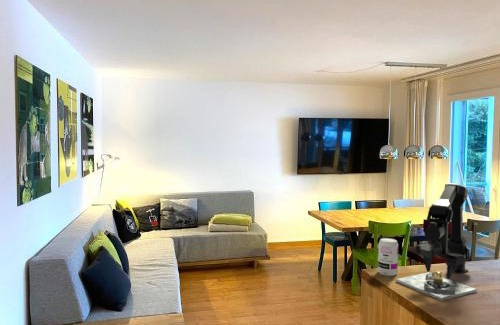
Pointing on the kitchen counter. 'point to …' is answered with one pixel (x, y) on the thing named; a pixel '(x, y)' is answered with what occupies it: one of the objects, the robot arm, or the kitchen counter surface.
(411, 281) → the carrier
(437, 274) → the gear
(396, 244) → the supplement can
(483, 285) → the kitchen counter surface
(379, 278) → the kitchen counter surface
